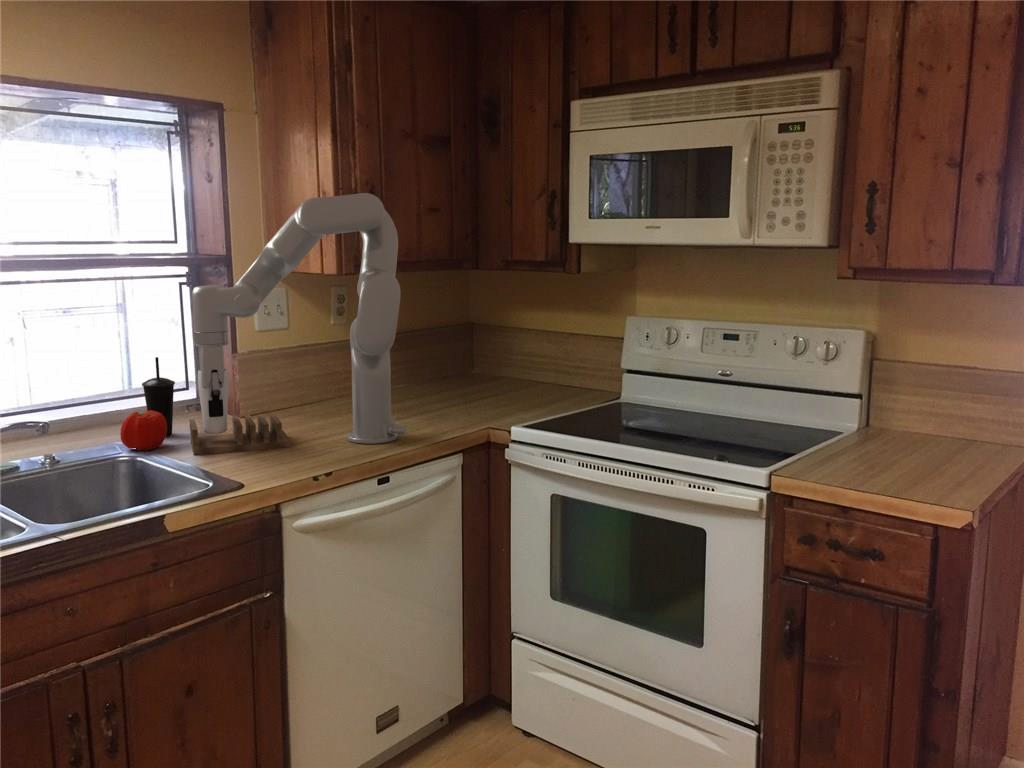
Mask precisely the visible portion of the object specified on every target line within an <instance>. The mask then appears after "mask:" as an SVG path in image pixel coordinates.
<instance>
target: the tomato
mask: <svg viewBox="0 0 1024 768" xmlns="http://www.w3.org/2000/svg"><path fill="white" fill-rule="evenodd" d="M121 424H122V425H121V427H120V440H121V443H122V445H124V446H125V447H127V448H129V449H130V448H136V450H139V449H140V450H139V451H142V450H147V451H151V450H153V449H156V448H158V447H159V446H161V445H162V444H163V443H164V440H166V438H167V437H166V435H167V422H166V419H165V417H164V416H163V415H162V414H161V413H159V412H156V411H152V410H150V411H145V412H141V413H140V412H138V411H134V412H132V413H130V415H128V416H127V417H126V418H125V420H124V421H123V422H122V423H121Z"/></svg>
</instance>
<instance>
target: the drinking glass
mask: <svg viewBox="0 0 1024 768" xmlns="http://www.w3.org/2000/svg"><path fill="white" fill-rule="evenodd" d="M211 377H212V373H211ZM219 381H220V380H219ZM218 384H219V383H218ZM221 384H222V382H221ZM197 386H198V387H197V388H198V389H197V390H198V394H199V401H200V402H199V403H200V410H201V416H202V417H201V418H202V424H203V425H202V426H203V431H204V433H206V434H209V435H213V434H215V435H219V434H223V433H225V432H227V430H228V404H229V403H228V402H229V374H228V369H227V368H224V386H223V387H222V386H221V387H222V388H221V393H222V399H223V416H222V417H209V407H208V400H209V386H208V387H205V389H204V388H203V387H202V382H201V372H200V369H198V370H197ZM210 387H213V383H210ZM211 392H212V390H211Z"/></svg>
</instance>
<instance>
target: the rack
mask: <svg viewBox="0 0 1024 768" xmlns="http://www.w3.org/2000/svg"><path fill="white" fill-rule="evenodd" d="M231 418H232V419H231V420H232V422H231V423H232V433H229V434H227V433H226V434H215V435H202V436H199V429H198V426H197V422H196V419H195V418H190V419H189V430H190V431H189V432H190V433H189V434H190V445H192V446H191V449H192V453H193V456H196V455H195V454H202V455H209V454H208V453H213V454H222V453H221V452H225V453H235V452H234V451H236V452H245V451H246V452H247V451H255V450H256V451H257V450H268V449H278V448H290V447H291V440H290V438H289V437H288V435H287V434H286V432H285V431H284V429H283V428H282V427H283V425H282V422H281V420H280V419H279V417H278V415H276V413H274V412H272V413H269V422H268V421H267V419H266V417H265V416H264V415H263V413H260V414H259V413H258V414H257V425H256V423H255V421H254V419H253V418H252V416H251V415H250V414H245V415H244V426H245V427H243V424H242V423H241V420H240V418H239V417H238V415H232V417H231ZM256 426H257V427H256ZM243 428H245V432H243V431H244V429H243ZM256 428H257V429H256Z"/></svg>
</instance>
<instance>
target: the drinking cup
mask: <svg viewBox="0 0 1024 768" xmlns="http://www.w3.org/2000/svg"><path fill="white" fill-rule="evenodd" d="M155 369H156V370H155V371H156V377H153V378H149V379H148V380H146V381H143V382H142V383H141V386H142V387H143V393H144V400H145V404H146V405H145V406H146V410H147V411H150V410H152V411H156V412H159V413H161V414H162V415H163V416H164V417H165V419H166V422H167V435H166V438H169V437H171V436H172V435H173V418H174V416H173V415H174V414H173V413H174V393H175V391H174V387H175V384H176V382H175V380H171V379H169V378H166V377H160V365H159V357H158V356H157V357H155ZM147 411H146V412H147Z"/></svg>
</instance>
